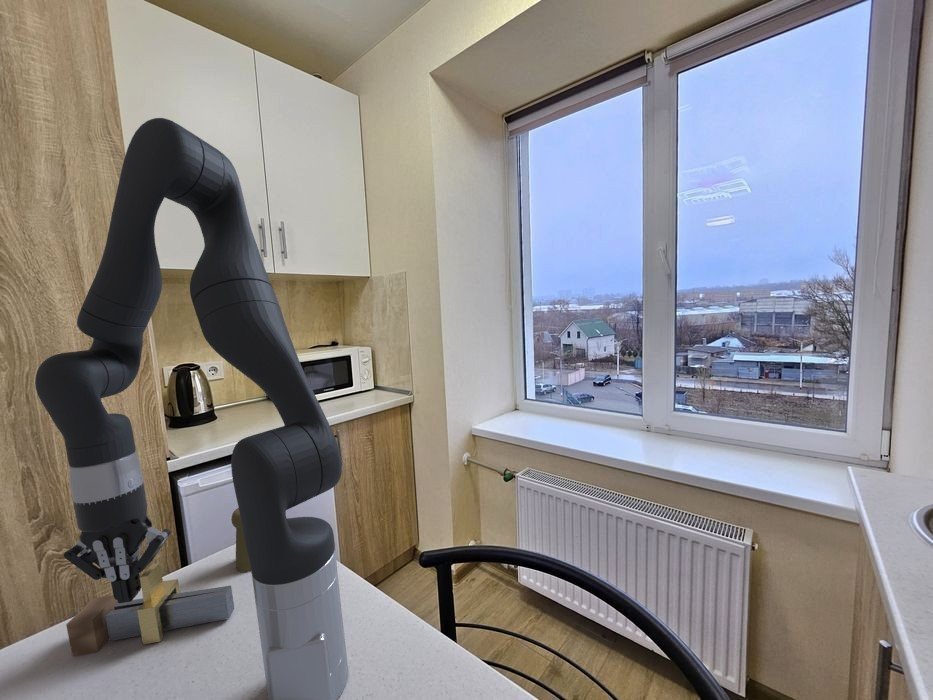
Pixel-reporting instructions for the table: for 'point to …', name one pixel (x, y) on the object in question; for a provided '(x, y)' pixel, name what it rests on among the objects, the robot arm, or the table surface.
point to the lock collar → (154, 602)
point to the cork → (240, 544)
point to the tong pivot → (90, 626)
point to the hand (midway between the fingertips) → (128, 598)
